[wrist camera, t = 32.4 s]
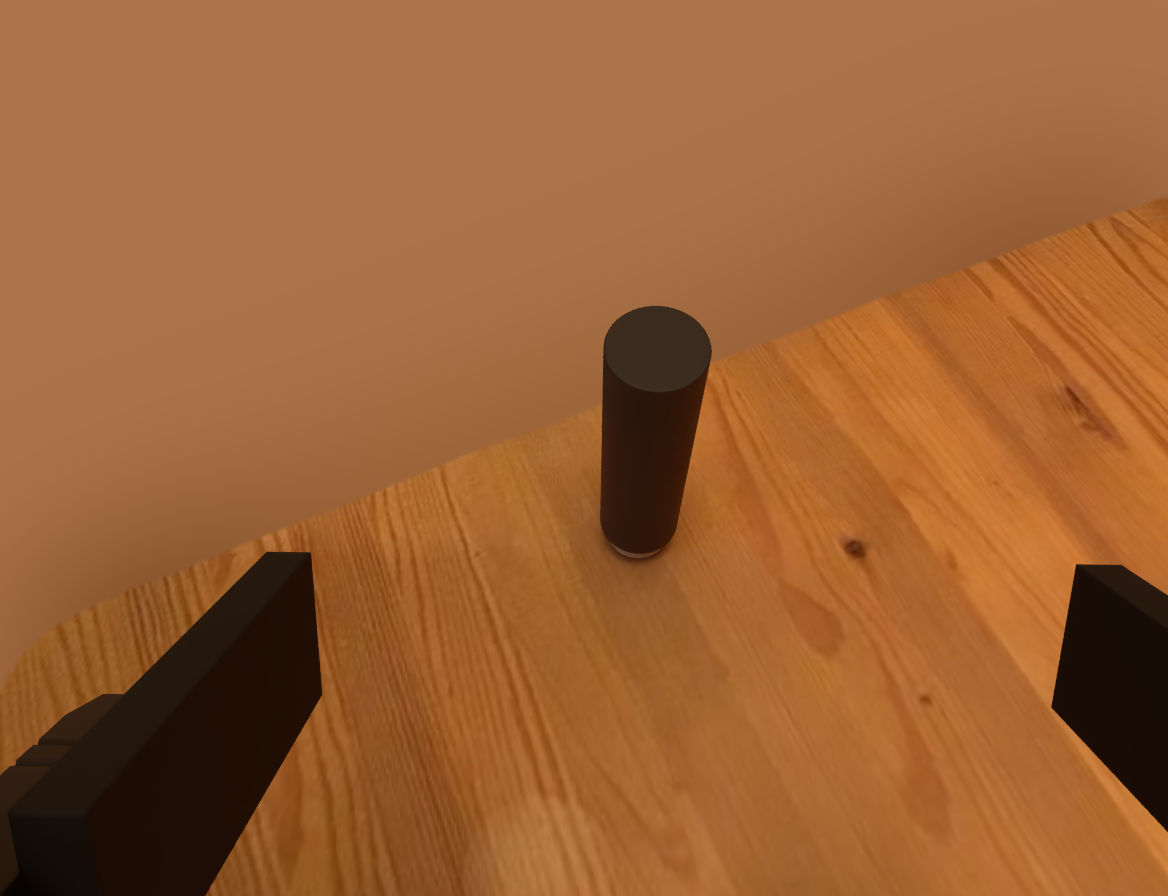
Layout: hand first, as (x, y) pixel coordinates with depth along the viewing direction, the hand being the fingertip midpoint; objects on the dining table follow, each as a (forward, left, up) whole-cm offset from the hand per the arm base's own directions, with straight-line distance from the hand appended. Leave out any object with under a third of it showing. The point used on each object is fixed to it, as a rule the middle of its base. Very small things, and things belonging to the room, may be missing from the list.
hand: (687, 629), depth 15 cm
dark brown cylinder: (-2, +10, -19) cm, 22 cm away
